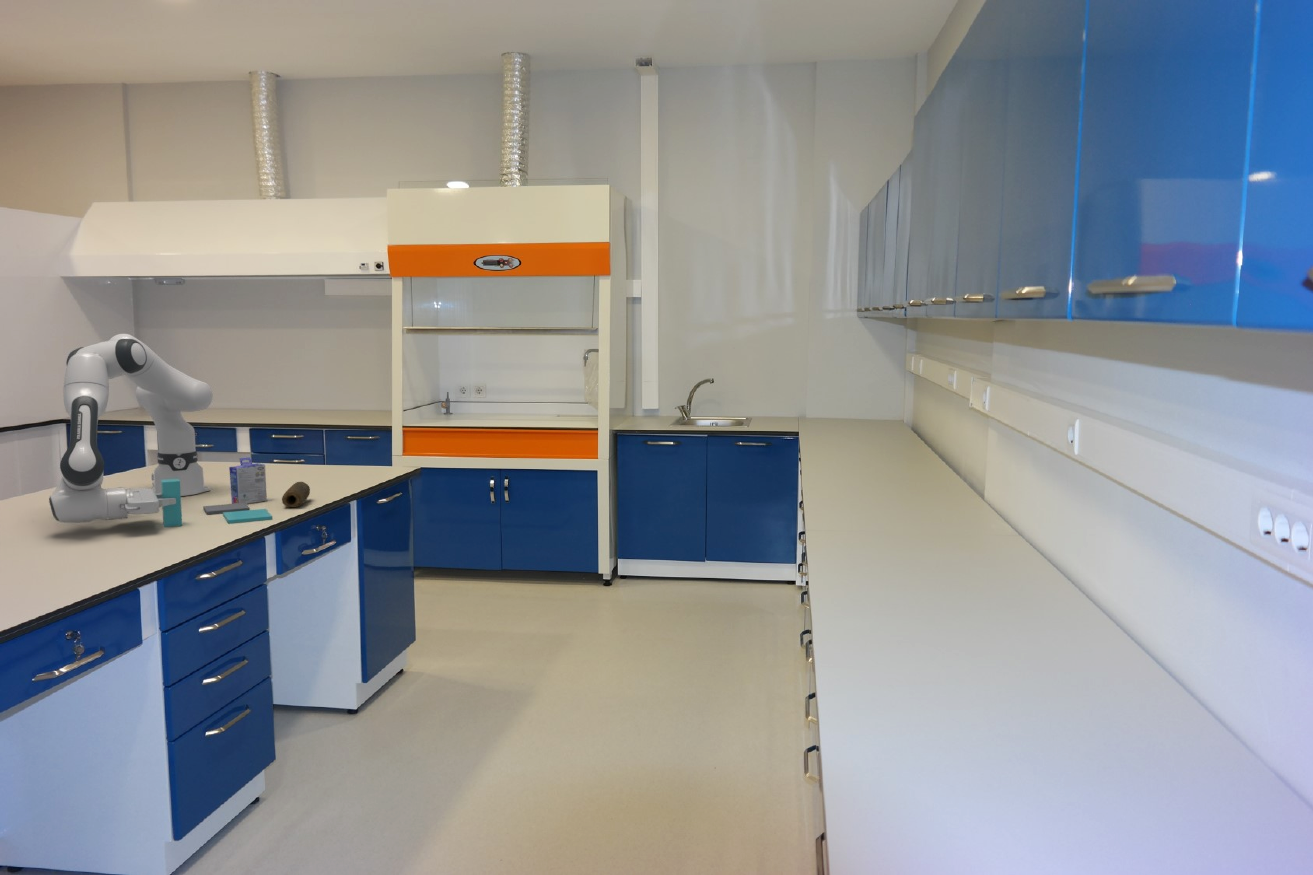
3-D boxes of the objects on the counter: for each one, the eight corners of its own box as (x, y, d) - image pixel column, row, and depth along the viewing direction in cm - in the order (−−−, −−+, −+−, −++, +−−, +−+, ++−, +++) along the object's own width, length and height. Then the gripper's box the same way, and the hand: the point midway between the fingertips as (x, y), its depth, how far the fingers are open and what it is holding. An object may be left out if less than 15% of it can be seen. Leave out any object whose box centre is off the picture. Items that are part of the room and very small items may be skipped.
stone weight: (288, 500, 299) (288, 480, 298) (311, 499, 301) (310, 480, 300) (281, 509, 285) (280, 489, 284) (304, 509, 286) (304, 488, 286)
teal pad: (222, 515, 274) (222, 512, 274) (265, 511, 281) (265, 508, 281) (228, 523, 264) (228, 520, 264) (272, 519, 271) (272, 516, 271)
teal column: (163, 523, 262) (160, 479, 261) (180, 522, 265) (178, 478, 263) (164, 527, 259) (162, 482, 257) (182, 525, 261) (179, 481, 259)
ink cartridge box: (259, 498, 300) (257, 455, 298) (268, 501, 297) (266, 457, 295) (229, 503, 292) (228, 459, 291) (238, 505, 289) (236, 461, 287)
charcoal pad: (203, 509, 283) (203, 506, 282) (245, 505, 289) (244, 502, 289) (206, 514, 275) (206, 511, 275) (249, 511, 281) (249, 507, 281)
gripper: (120, 498, 245) (177, 494, 252) (117, 486, 262) (171, 482, 269) (121, 521, 246) (178, 516, 253) (118, 507, 263) (172, 503, 270)
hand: (174, 498), depth 261 cm, fingers closed on teal column, 4 cm apart
